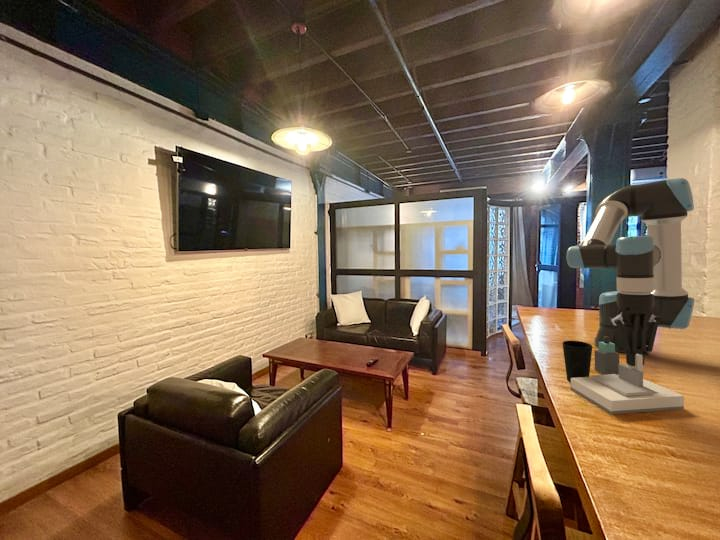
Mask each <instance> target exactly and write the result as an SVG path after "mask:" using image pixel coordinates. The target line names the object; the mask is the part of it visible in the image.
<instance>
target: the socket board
mask: <svg viewBox="0 0 720 540" xmlns="http://www.w3.org/2000/svg"><path fill="white" fill-rule="evenodd" d="M617 375H618V376H619V374H617ZM643 387H645V388H647V389H649V390H651V391H653V394H651V395H636V396H625V395H623V394H621V393H619V392H617V391H615V390H613V389H611V388H609V387H607V386H605V385H603V384H601V383H599V382H598V381H596V380H594V379H592V378H591V376H589V377H578V378H571V382H570V390H571V391H573V392H574V393H576V394H577V395H579V396H580V397H583V398H584V399H586V400H588V401H589V402H591V403H592V404H594V405H595V406H597V407H599V408H600V409H602V410H603V411H605V412H606V413H609V414H610V415H619V414H621V415H622V414H635V413H636V414H638V413H648V412H663V411H677V410H685V396H684V395H683V394H681V393H678V392H676V391H673V390H671V389H668V388H666V387H664V386H661V385H659V384H657V383H655V382H652V381H649V380H647V379H645V378H643Z"/></svg>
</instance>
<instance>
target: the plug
mask: <svg viewBox="0 0 720 540" xmlns="http://www.w3.org/2000/svg"><path fill="white" fill-rule="evenodd" d="M597 348H598V349H595V350H594V371H596V372H598V373H600V374H601V375H607V374H616V375H619V367H618V364H620V352H616V351H615V344H614V343H611V342H609V337H606V336H605V337H604V342H598V347H597Z"/></svg>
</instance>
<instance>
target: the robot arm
mask: <svg viewBox="0 0 720 540" xmlns="http://www.w3.org/2000/svg"><path fill="white" fill-rule="evenodd" d="M692 193H693V192H692V189H691V185H690V183H689V180H687V179H686V178H683V177H681V178H679V177H678V178H670V179H669V178H667V179H664V180H659V181H658V180H657V181H653V182H646V183H640V184H635V185H628V186H624V187H622V188H619V189H618V190H616V191H613V192H612V193H611V194H609V195H607V196H606V197H605V198H604V199H602V201H601V202H599V204H598V206H597V207H596V209H595V217H594V219H593V221H592V222H591V225H590V227H589V229H588V230H587V232H586V234H585V235H584V238H583V239H582V242H581V244H579V245H573V246H570V247H568V248H567V251H566V255H565V257H566V263H567V265H568V267H569V268H572V269H583V270H585V269H616V290H614V291H607V292H603V293H601V294H600V295H599V297H598V299H599V300H598V313H599V314H598V316H599V317H598V319H599V321H598V323H599V325H598V330H597V333H596V336H595V337H594V340H593V341H594V343H593V344H594V346H595V347H597V348H598V342H604V337H605V336H606V337H609V342H611V343H614V344H615V352H617V353H625V355H626V357H625V360H626V365H627V366H629V367H631V368H634V369H636V370H639V371H641V372H643V373H644V369H643V367H644V366H645V356H646V357H647V356H648V355H650V353H651V352H653V349H654V344H655V341H656V338H657V337H656V336H657V332H658V328H666V329H668V330H669V329H670V330H671V329H675V330H676V329H678V330H685V329H688V327H689V326H690V323H691V320H692V315H693V311H694V305H695V298H693V297H690V296H689V292H688V291H687V290H685V289H684V288H683V282H682V281H683V278H682V276H683V275H682V274H683V273H682V272H683V271H682V269H683V268H682V221H683V220H685V219H686V218H688V212H691V211H694V206H695V205H694V198H693V194H692ZM630 217H640V218H641V222H643V223H644V224H646V231H647V232H646V233H647V235H637V236H621V237H618V238H617V239H616V243H614V244H611V243H612V241H613V239H614V237H615V234H616V233H617V231H618V228H619V226H620V224H621V222H623V221H624V220H625V219H626V218H630Z"/></svg>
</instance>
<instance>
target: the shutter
mask: <svg viewBox="0 0 720 540" xmlns="http://www.w3.org/2000/svg"><path fill="white" fill-rule="evenodd" d="M618 367H619V374H607V375H604V374H594V375H593V374H592V375H590V377H591V378H592V379H594V380H596V381H598V382H599V383H601V384H603V385H605V386H607V387H609V388H611V389H613V390H615V391H617V392H619V393H621V394H623V395H625V396H636V395H651V394H653V391H651V390H649V389H647V388H645V387H643V379H644V371H643V372H641V371H639V370H636V369H634V368H631V367H629V366H628V365H627V364H624V363H621V364H620V363H619V364H618ZM618 375H619V376H618Z"/></svg>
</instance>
